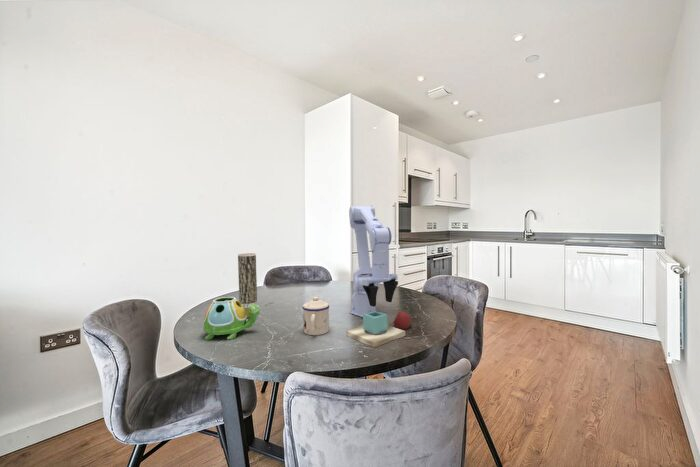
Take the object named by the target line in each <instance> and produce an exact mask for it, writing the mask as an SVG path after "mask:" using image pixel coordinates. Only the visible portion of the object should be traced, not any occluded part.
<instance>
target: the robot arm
mask: <svg viewBox="0 0 700 467" xmlns="http://www.w3.org/2000/svg"><path fill="white" fill-rule="evenodd" d="M348 213H349V214H348V217H349V225H350V228H352V229H354V233H355V242H356V249H357V250H356V251H357V261H358V268H357V269H356V270H355V271H354V272H353V274H352V288H353V291H354V292H353V294H352V295H351V311H350V314H352V315H355V316H357V317H360V318H363V314H366V313H369V312H373V311H376V305H377V295H378V291H379V289H380V285H381V284H380V283H382V284H383V287H384V296H385V297H384V298H385V301H386V303H392V301H393V298H394V295H395V294H394V293H395V291H396V289H397V287H398V285H399V281H398V274H397V273H390V246H389V245H390V244H391V243H392V230H391V228H390V227H389V226H386V227H385V226H384V225H383V223H382V222H381V221H380V219H379V218H378V217H376V209H375V207H374V206H373V205H350V207H349V210H348ZM368 235H369V236H368ZM368 238H369V241H368ZM369 244H370V245H369ZM369 246H370V247H369ZM369 248H370V250H371V259H370V250H369Z"/></svg>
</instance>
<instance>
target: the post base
mask: <svg viewBox="0 0 700 467" xmlns="http://www.w3.org/2000/svg"><path fill="white" fill-rule="evenodd" d="M346 336H347V337H349V338H351V339H353V340H356V341H358V342H360V343H362V344H365V345H367V346H370V347H372V348H377V347H380V346H383V345H384V344H385V345H386V344H388V343H390V342H393V341H394V340H398V339H401V338H403V337H405V336H406V330H405V329H398V328H396V327H395V326H392V325H389V324H388V330H386V331H383V332H380V333H377V334H373V333H371V332H368V331H366V330H363V325H361V326H357V327H354V328H351V329H347V330H346Z"/></svg>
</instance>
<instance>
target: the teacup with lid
mask: <svg viewBox="0 0 700 467" xmlns="http://www.w3.org/2000/svg"><path fill="white" fill-rule="evenodd" d="M302 311H303V314H302V315H303V317H302V318H303V332H304V334H306V335H309V336H320V335H324V334H327V333H329V331H330V317H329V316H330V312H329V311H330V303H328V302H327V301H324V300H322V299H319V297H318V296H313V297H312V299H311V300H309V301H308V302H305V303H304V304H303V305H302Z"/></svg>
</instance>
